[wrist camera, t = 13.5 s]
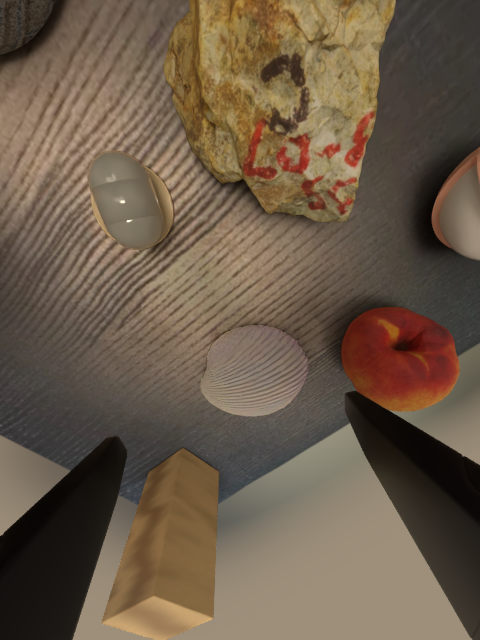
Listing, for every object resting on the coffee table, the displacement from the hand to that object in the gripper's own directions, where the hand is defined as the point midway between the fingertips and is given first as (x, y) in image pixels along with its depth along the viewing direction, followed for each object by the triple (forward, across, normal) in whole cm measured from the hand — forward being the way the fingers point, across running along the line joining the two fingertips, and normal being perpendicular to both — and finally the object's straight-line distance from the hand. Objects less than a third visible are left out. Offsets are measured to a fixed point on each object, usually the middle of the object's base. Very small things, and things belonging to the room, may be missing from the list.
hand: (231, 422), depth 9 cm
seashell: (+12, -1, +7) cm, 14 cm away
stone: (+12, +5, -9) cm, 16 cm away
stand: (+12, +10, +19) cm, 25 cm away
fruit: (+12, -12, +5) cm, 18 cm away
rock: (+12, -5, -12) cm, 18 cm away
